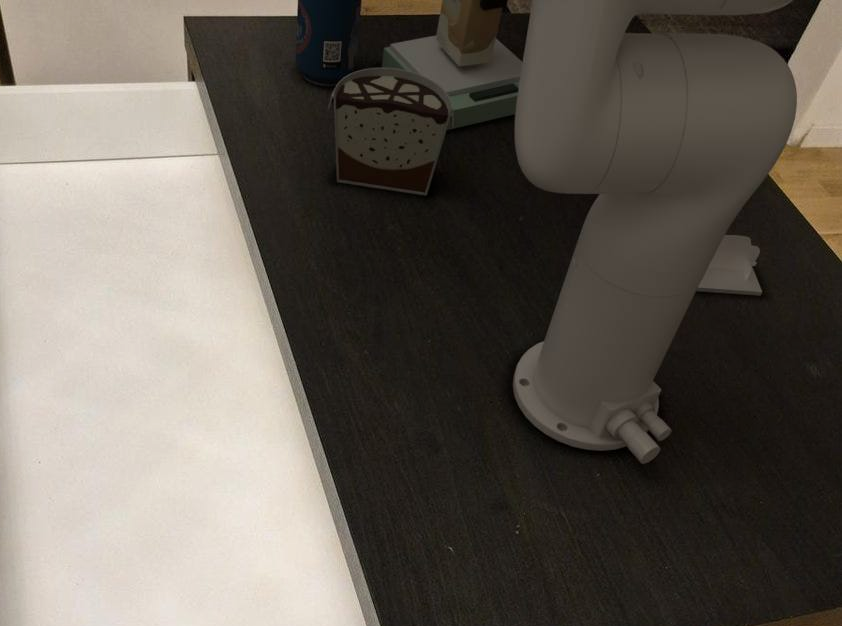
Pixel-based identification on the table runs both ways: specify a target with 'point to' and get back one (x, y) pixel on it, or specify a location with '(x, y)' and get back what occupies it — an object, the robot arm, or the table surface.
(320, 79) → the soda can
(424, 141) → the food container
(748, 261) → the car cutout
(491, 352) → the table surface
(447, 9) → the cosmetic box
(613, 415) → the robot arm
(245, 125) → the table surface
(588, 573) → the table surface
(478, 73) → the scale
